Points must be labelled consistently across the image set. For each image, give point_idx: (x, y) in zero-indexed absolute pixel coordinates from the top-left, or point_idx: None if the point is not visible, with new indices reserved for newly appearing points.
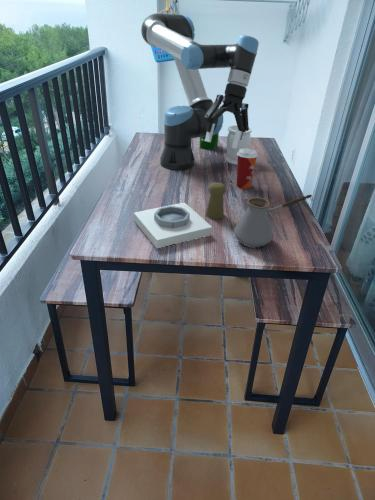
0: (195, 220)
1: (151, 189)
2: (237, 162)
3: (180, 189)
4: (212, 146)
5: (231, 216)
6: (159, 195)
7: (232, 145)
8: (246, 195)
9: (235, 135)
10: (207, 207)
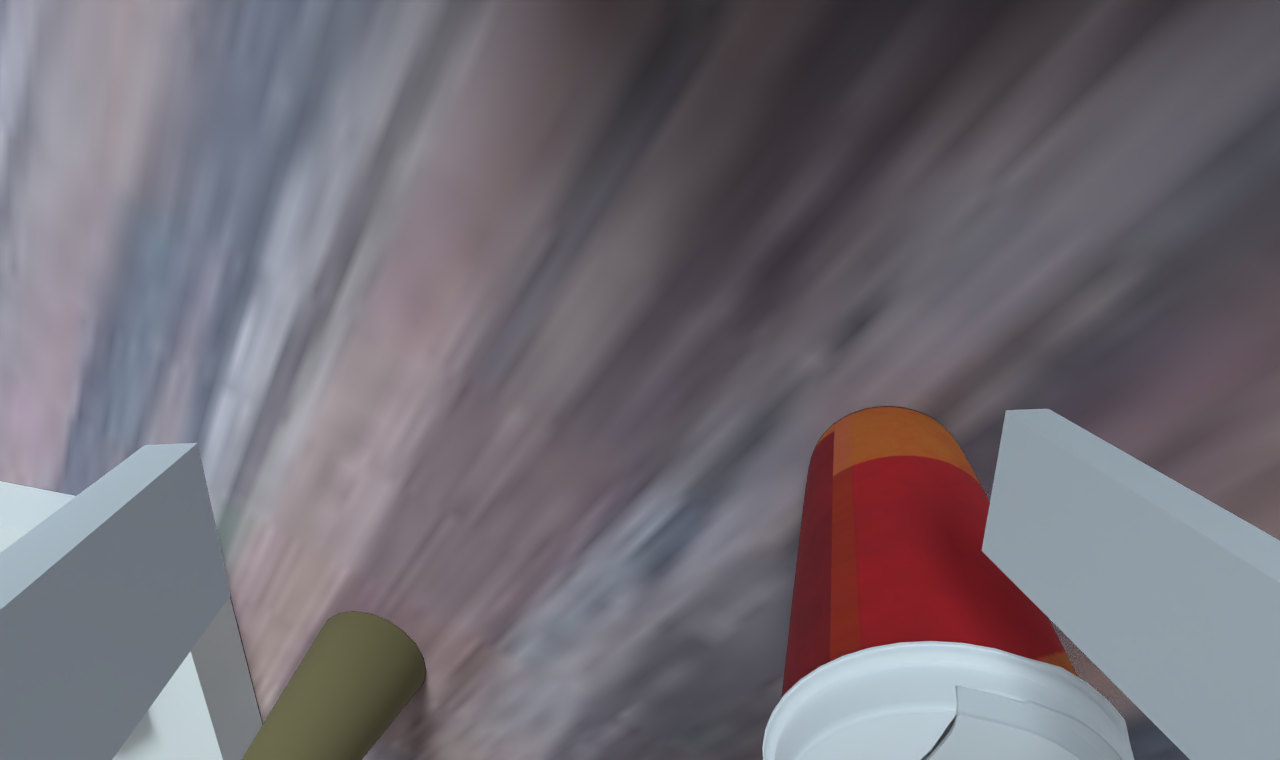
0: (175, 732)
1: (27, 82)
2: (822, 584)
3: (279, 220)
4: None
5: (456, 717)
6: (84, 237)
7: (1029, 434)
8: (753, 604)
9: (1243, 586)
10: (297, 668)
